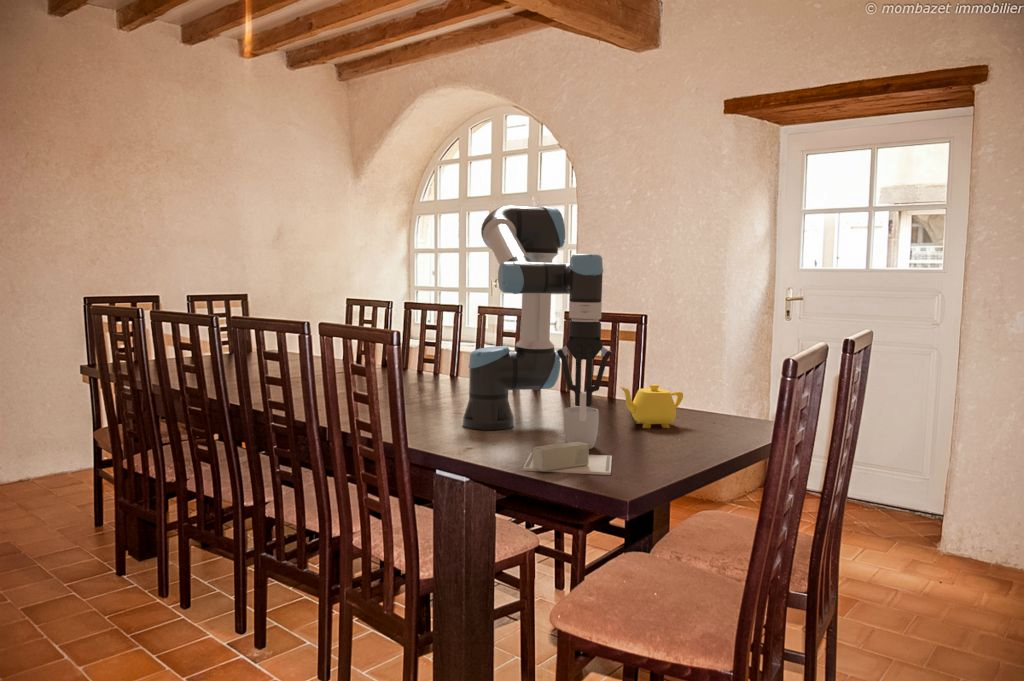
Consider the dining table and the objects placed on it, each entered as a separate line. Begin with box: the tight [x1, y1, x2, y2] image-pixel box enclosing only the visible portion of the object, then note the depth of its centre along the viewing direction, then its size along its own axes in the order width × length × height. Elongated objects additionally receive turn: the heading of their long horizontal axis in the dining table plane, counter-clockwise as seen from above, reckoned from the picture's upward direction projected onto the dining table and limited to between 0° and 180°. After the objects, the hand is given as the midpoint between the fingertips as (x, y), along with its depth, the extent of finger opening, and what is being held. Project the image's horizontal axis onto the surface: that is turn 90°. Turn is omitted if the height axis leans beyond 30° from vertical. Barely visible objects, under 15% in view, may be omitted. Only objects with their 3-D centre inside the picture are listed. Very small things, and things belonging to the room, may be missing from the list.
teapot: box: [619, 383, 684, 429], centre depth 225 cm, size 13×20×12 cm
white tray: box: [522, 451, 613, 476], centre depth 177 cm, size 16×20×1 cm
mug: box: [563, 406, 600, 450], centre depth 196 cm, size 13×9×10 cm
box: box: [532, 442, 590, 473], centre depth 172 cm, size 5×4×13 cm
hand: (582, 419), depth 176 cm, fingers closed
